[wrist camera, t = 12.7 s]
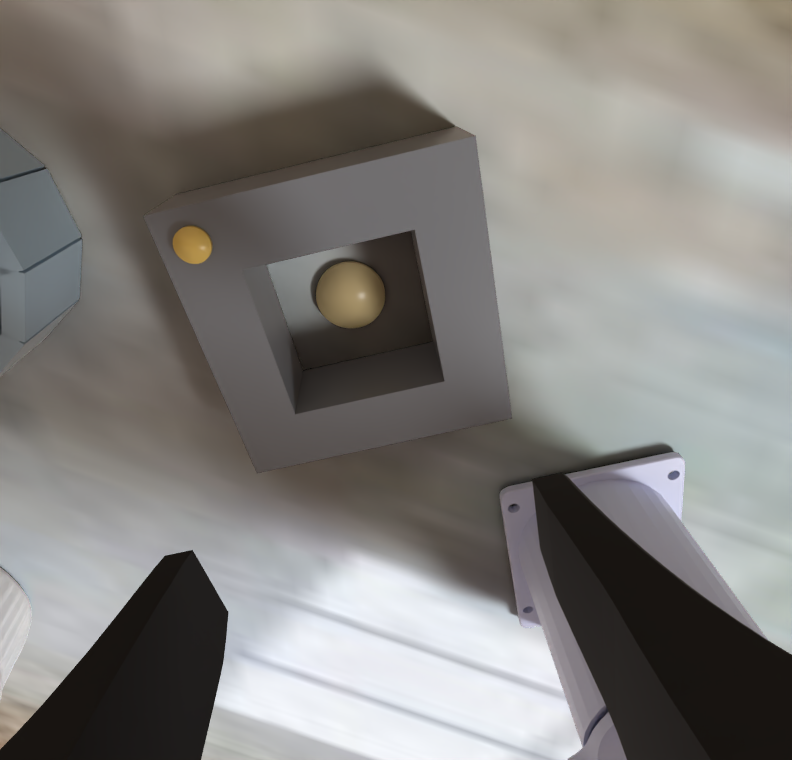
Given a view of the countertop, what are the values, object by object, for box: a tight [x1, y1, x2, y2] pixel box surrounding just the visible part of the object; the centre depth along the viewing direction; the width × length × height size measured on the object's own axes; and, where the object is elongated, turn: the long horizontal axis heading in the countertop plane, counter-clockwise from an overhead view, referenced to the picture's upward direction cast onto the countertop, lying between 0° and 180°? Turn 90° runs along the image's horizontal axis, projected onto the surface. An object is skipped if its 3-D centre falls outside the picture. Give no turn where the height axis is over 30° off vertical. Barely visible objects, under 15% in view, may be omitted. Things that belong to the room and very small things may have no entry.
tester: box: [143, 126, 512, 473], centre depth 18 cm, size 9×9×3 cm
